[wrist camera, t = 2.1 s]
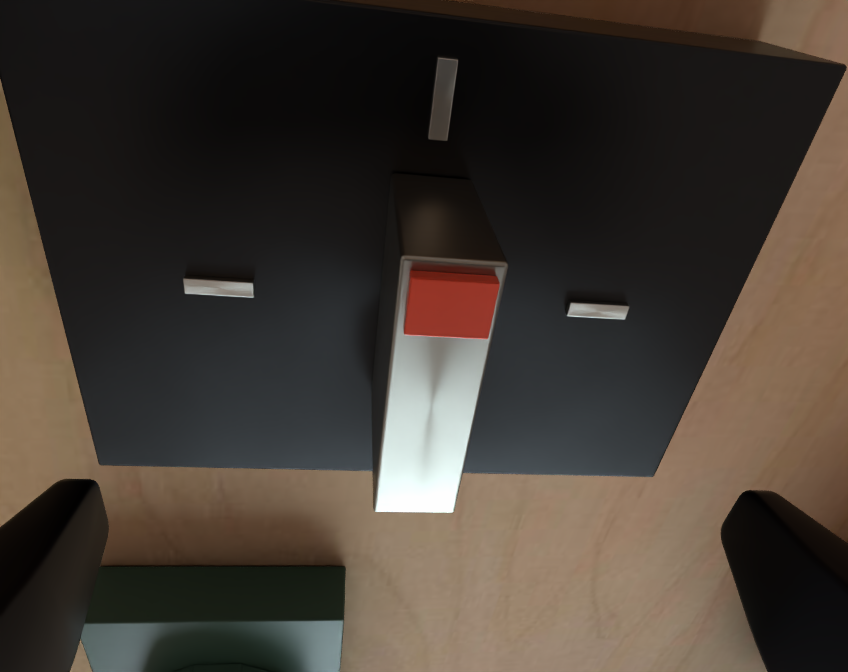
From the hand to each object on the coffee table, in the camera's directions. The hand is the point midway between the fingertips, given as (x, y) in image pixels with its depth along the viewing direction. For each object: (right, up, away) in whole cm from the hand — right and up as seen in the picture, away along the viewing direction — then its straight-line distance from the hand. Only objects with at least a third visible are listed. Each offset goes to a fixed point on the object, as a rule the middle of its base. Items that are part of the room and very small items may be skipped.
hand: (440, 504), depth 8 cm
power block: (-8, -11, +17) cm, 22 cm away
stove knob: (0, +3, +5) cm, 6 cm away
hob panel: (-1, +5, +7) cm, 9 cm away
